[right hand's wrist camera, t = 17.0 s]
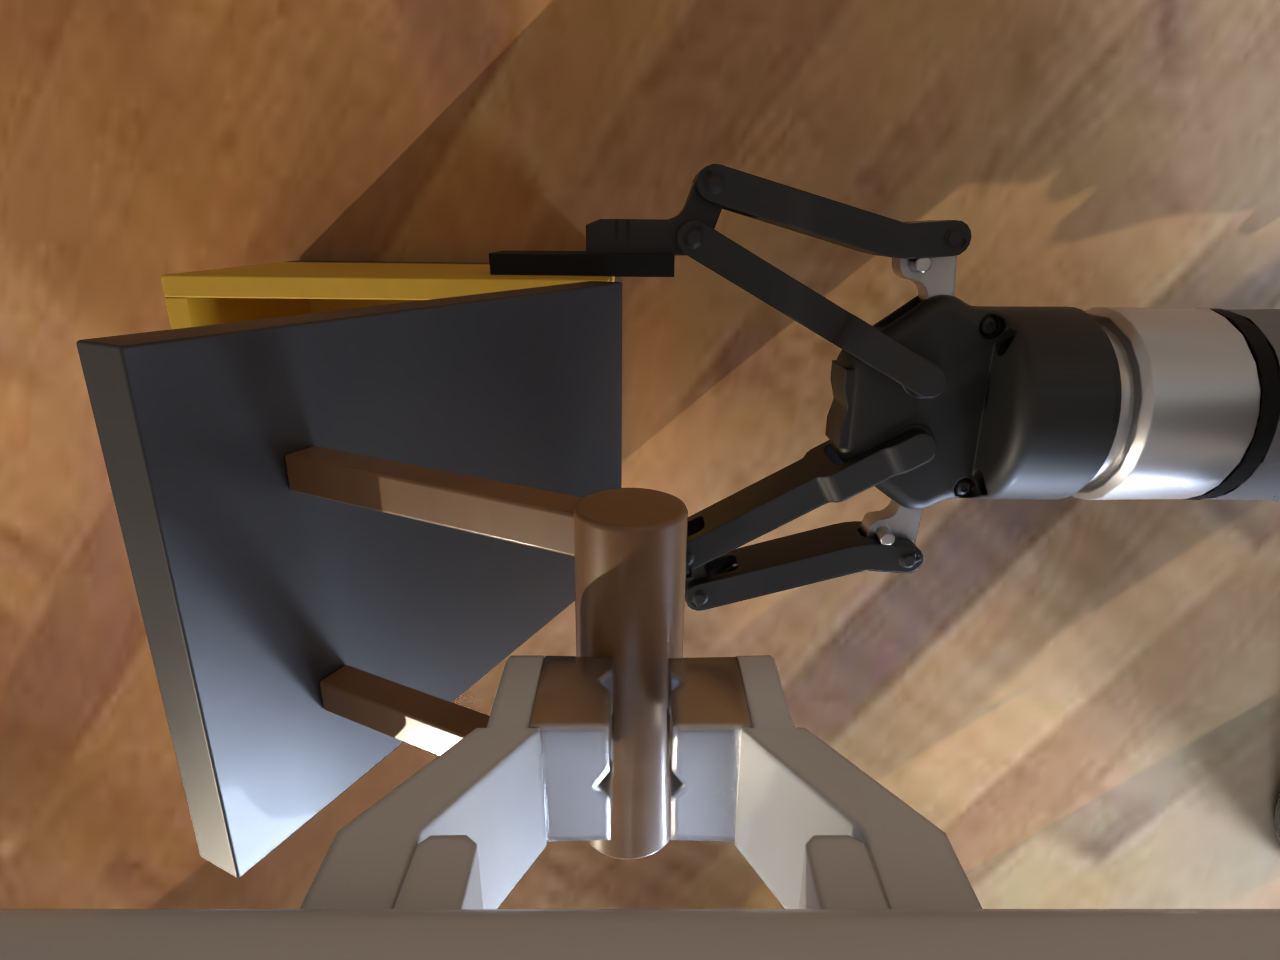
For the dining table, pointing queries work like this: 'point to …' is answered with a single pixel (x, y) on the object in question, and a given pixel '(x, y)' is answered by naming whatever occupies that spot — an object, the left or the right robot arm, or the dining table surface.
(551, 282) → the chest
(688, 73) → the dining table surface
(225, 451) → the lid
